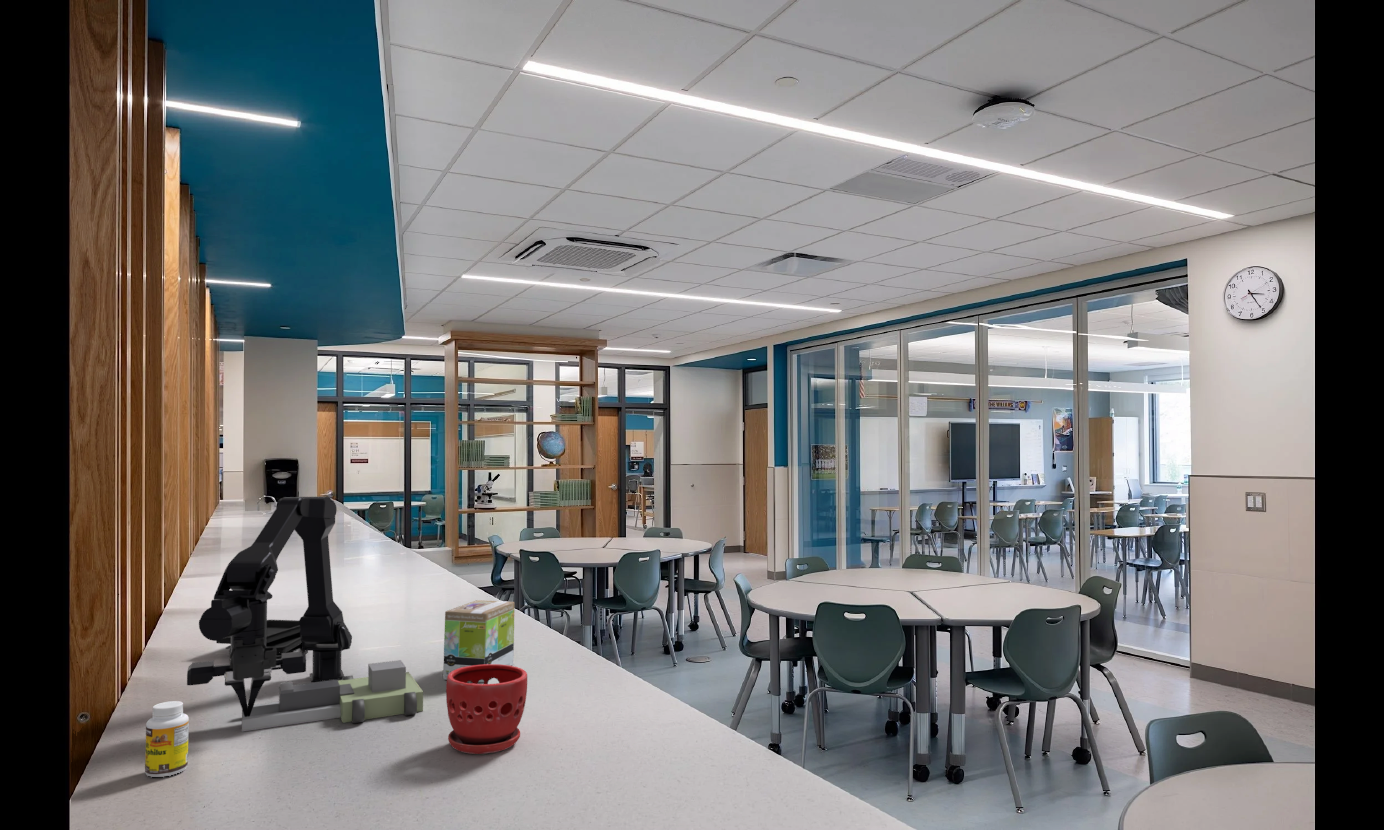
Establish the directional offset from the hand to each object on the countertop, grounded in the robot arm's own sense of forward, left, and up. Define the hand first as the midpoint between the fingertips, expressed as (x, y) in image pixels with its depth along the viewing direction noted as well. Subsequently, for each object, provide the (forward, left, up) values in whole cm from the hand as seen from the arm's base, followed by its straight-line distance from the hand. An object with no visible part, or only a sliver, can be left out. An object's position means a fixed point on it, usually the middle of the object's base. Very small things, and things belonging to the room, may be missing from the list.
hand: (247, 716), depth 151 cm
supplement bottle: (+20, -11, -2) cm, 23 cm away
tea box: (-14, +45, -2) cm, 47 cm away
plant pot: (+32, +35, -2) cm, 47 cm away
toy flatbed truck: (0, +14, -1) cm, 14 cm away
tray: (-59, +4, -2) cm, 59 cm away
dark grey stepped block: (0, +10, -1) cm, 10 cm away
